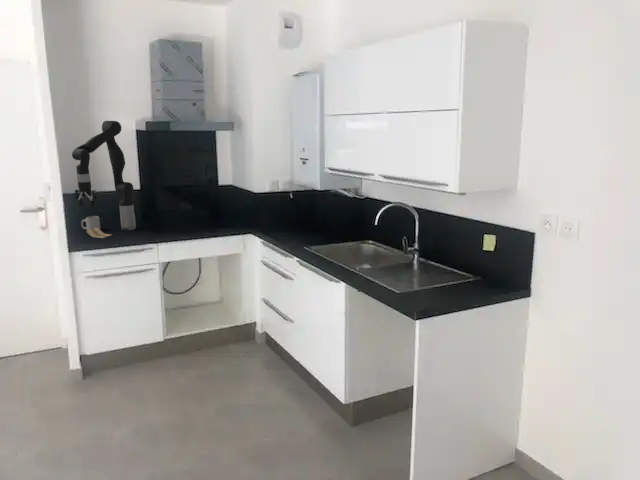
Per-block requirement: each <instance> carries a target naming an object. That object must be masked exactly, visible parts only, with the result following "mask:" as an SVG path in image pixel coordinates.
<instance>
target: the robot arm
mask: <svg viewBox="0 0 640 480" xmlns="http://www.w3.org/2000/svg"><path fill="white" fill-rule="evenodd" d="M101 130H102V132H101V133H98V134H96V135H95V136H92V137H90V138H89V139H87V141H86V142H85V143H83V144H81V145H79V146H77V147H76V148H74V149H73V150H72V153H71V157H72V158H73V160H75V161H79V164H77V165H76V167H75V168H76V178H77V179H76V180H77V187H78V189H74V197H75V200H78V205H79V206H80V207H83V206H84V203H83V198H88V200H90V207H93V208H94V207H95V205H96V204H95V203H96V202H95V201H96V200H98V196H97V190H96V189H94V190H92V182H91V181H92V180H91V175H90V169H89V166H90V159H91V155H90V154H92V153H94V152H95V151H96V150H97V149H99V147H101V146H102V145H103V144H104V143H106V148H107V152H108V156H109V162H110V164H111V170H112V175H113V183H114V189H115V192H116V194H117V195H118V196H123V199H122V200H119V201H118V205H119V216H120V226H121V230H124V231H125V230H126V231H128V230H129V231H133V230H136V228H137V224H136V223H137V222H136V215H135V210H134V209H135V207H134V201H135V189H134V185H133V183H132V182H129V181H128V182H127V181H124V179H123V178H124V177H123V171H124V169H125V167H126V159H125V154H124V152H123V150H122V148H121V147H120V145H118V143H117V141H116V139H115V137H116V136H117V135H119V134H120V133H121V131H122V125H121V123H120V122H119V121H117V120H104V121H102V124H101Z"/></svg>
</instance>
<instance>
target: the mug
mask: <svg viewBox="0 0 640 480" xmlns="http://www.w3.org/2000/svg"><path fill="white" fill-rule="evenodd" d="M84 222H85V223H86V224H85V225H86V226H84ZM80 223H81V228H82V229H83V230H86V231H87V230H90V229H93V228H96V227H97V228H99V229H100V230H101V221H100V217H99V216H98V215H89V216H86V217H85V219H84V218H83V219H82V220H81V221H80Z"/></svg>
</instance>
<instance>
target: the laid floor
mask: <svg viewBox="0 0 640 480" xmlns="http://www.w3.org/2000/svg"><path fill="white" fill-rule="evenodd" d="M112 235H113V234H112V233H111V234H110V233H105V234H103V235H100V236H97V237H96V238H101V239H105V238H107V237H109V236H112Z"/></svg>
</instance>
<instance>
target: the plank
mask: <svg viewBox="0 0 640 480" xmlns="http://www.w3.org/2000/svg"><path fill="white" fill-rule="evenodd" d="M85 233H87V234H88V235H89V236H90V237H92V238H98V237H97V236H100V235H103V234H106V233H105V232H104V231H102V230H101V228H100V229H99V228H97V227H96V228H93V229H90V230H87V229H86V231H85Z"/></svg>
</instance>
